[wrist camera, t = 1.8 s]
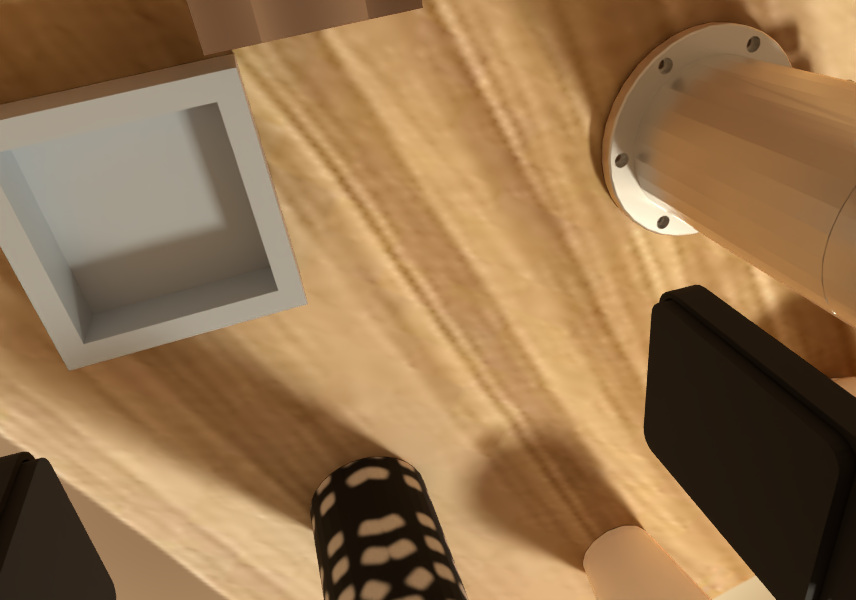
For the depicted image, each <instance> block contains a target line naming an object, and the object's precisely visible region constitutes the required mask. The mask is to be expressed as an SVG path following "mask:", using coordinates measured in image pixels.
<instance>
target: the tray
mask: <svg viewBox="0 0 856 600" xmlns="http://www.w3.org/2000/svg"><path fill="white" fill-rule="evenodd" d="M0 247H1V249H2V250H3V252H4V254H5V256H6V258H7V259H8V261H9V263H10V265H11V267H12V269H13V270H14V272H15V274H16V276H17V278H18V279H19V281H20V283H21V285H22V287H23V289H24V290H25V292H26V294H27V296H28V298H29V299H30V301H31V303H32V305H33V307H34V309H35V310H36V312H37V314H38V316H39V318H40V320H41V321H42V323H43V325H44V327H45V329H46V330H47V332H48V334H49V336H50V338H51V340H52V341H53V343H54V345H55V347H56V349H57V350H58V352H59V354H60V356H61V358H62V360H63V361H64V363H65V365H66V367H67V369H68V370H69V371H71V370H74V369H78V368H81V367H85V366H89V365H92V364H96V363H99V362H103V361H106V360H110V359H114V358H117V357H121V356H124V355H128V354H131V353H135V352H138V351H142V350H146V349H149V348H153V347H156V346H160V345H163V344H167V343H171V342H174V341H178V340H181V339H185V338H188V337H192V336H196V335H199V334H203V333H206V332H210V331H213V330H217V329H220V328H224V327H228V326H231V325H235V324H238V323H242V322H245V321H249V320H253V319H256V318H260V317H263V316H267V315H270V314H274V313H277V312H281V311H285V310H288V309H292V308H295V307H299V306H302V305H306V304H307V299H306V295H305V291H304V287H303V283H302V279H301V275H300V271H299V268H298V264H297V261H296V258H295V254H294V251H293V248H292V244H291V241H290V238H289V234H288V231H287V228H286V224H285V221H284V218H283V214H282V211H281V208H280V204H279V201H278V198H277V194H276V191H275V188H274V184H273V181H272V178H271V174H270V171H269V168H268V164H267V161H266V158H265V154H264V151H263V148H262V144H261V141H260V138H259V134H258V131H257V128H256V124H255V121H254V118H253V114H252V111H251V108H250V104H249V101H248V98H247V94H246V91H245V88H244V84H243V81H242V78H241V74H240V71H239V68H238V64H237V61H236V58H235V54H234V53H233V54H228V55H224V56H219V57H215V58H210V59H206V60H201V61H196V62H192V63H187V64H183V65H178V66H174V67H169V68H165V69H160V70H156V71H151V72H147V73H142V74H138V75H133V76H128V77H124V78H119V79H115V80H110V81H106V82H101V83H97V84H92V85H88V86H83V87H79V88H74V89H70V90H65V91H60V92H56V93H51V94H47V95H42V96H38V97H33V98H29V99H24V100H20V101H15V102H11V103H6V104H1V105H0Z"/></svg>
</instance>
